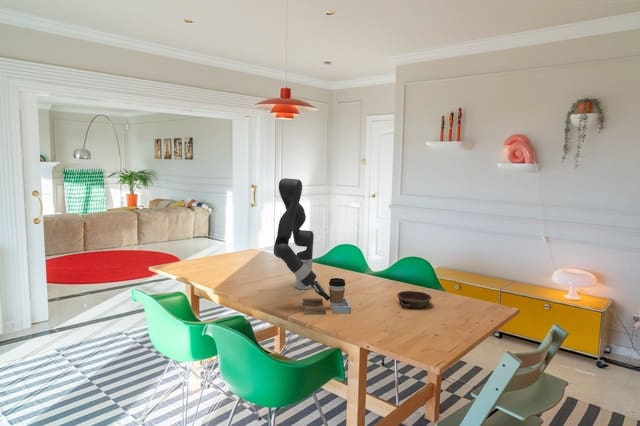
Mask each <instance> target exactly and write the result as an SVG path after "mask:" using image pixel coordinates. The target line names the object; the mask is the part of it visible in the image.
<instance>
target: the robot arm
mask: <svg viewBox="0 0 640 426" xmlns="http://www.w3.org/2000/svg"><path fill="white" fill-rule="evenodd" d="M302 191H303V182H302V180H301V179H298V178H288V177H287V178H281V179H280V180H279V182H278V192H279V195H280V197H281V200H282V202H283V204H284V207H285V212H284V213H283V214H282V215H281V217H280V219H279V222H278V226H277V233H276V234H277V235H276V238H275V242H274V245H273V254H274V256H275V257H276V258H278V259H281V260H282V261H283V263H285V264H286V267H287V268H288V269H289V270H290V271H291V272H292V273H293V274H294V276H295V288H296V289H298V290H310V289H312V290H313V291H314V292H315V293H316V294H318V295H319V297H323V298H324V299H325V300H326V302H327V301H330V295H329V294H328V293H327V292H326V290H325V289H324V288H323V286H322V285H321V284H320V283H319V281H318V280H316V279H317V275H316V273H314V271H313V251H314V239H315V236H314V232H313V231H312V230H306V229H305V230H304V229H303V230H302V229H301V227H303V226H304V224H305V222H306V219H307V218H306V217H307V215H306V213H305V208H304V207H303V205H302V204H301V203H300V201H301V197H302V194H303V192H302ZM291 237H293V242H294V245H295V246H297V247H306V248H305V250H301V251H299V252H294V250H293V249H292V248H291V247H290V245H289V242H290V239H291Z"/></svg>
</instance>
